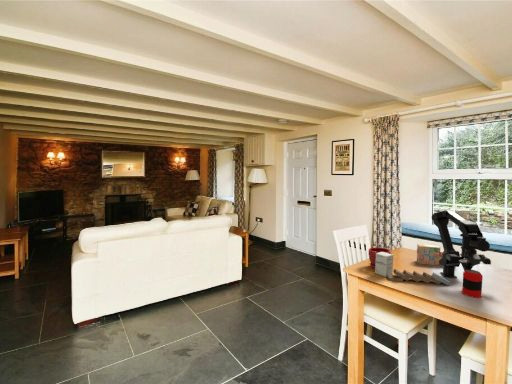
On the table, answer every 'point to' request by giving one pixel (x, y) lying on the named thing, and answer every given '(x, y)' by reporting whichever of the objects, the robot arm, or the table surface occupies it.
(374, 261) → the plant pot
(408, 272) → the domino
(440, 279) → the domino
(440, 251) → the printed cardboard carton
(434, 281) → the domino
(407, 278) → the domino
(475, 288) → the soda can
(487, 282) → the table surface
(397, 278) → the domino
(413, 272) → the domino
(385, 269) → the supplement box
